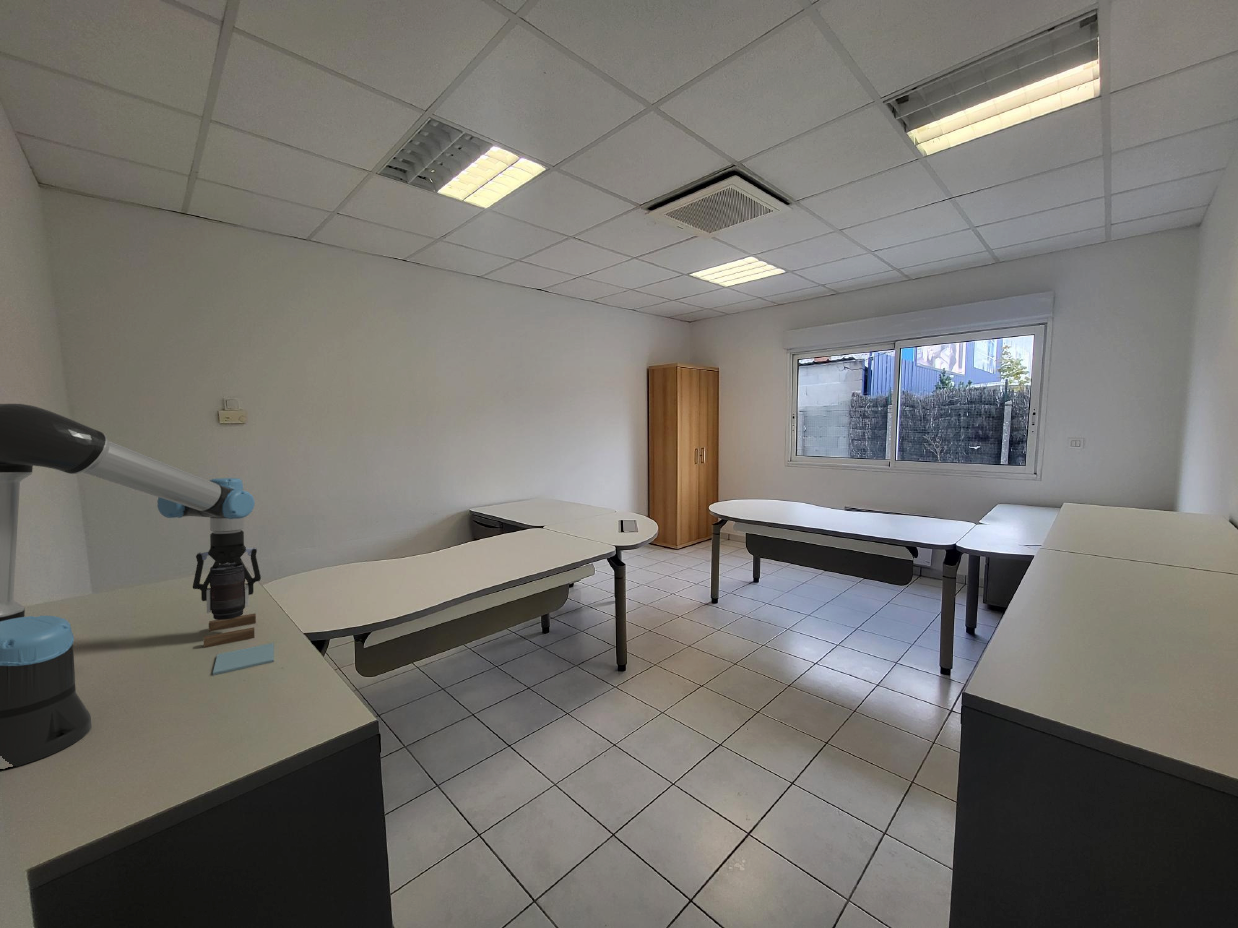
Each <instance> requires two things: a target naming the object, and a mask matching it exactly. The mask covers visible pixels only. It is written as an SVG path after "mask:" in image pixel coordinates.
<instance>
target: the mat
mask: <svg viewBox="0 0 1238 928" xmlns="http://www.w3.org/2000/svg"><path fill="white" fill-rule="evenodd" d="M274 645H275V643H274V642H271V643H267V644H266V643H265V644H261V645H256V646H252V647H247V648H245V647H244V648H242V649H236V650H232V651H226V652H222V653H218V654H216V660H215V663H214V668H213V671H212V676H216V675H221V674H225V673H229V672H235V671H240V670H243V669H248V668H252V667H257V666H261V665H264V664H265V665H266V664H271V663H274V662H275V660H274V659H275V658H274V657H275V656H274V653H275V652H274V649H275V646H274Z"/></svg>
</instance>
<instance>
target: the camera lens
mask: <svg viewBox="0 0 1238 928" xmlns="http://www.w3.org/2000/svg"><path fill="white" fill-rule="evenodd" d="M243 565H245V563H244V562H243ZM243 565H240V566H237V565H236V563H235V562H234V563H225V564H219V566H218V568H217V569H211V568H212V566H211V567H210V569H209V572H210V570H211V572H210V583H209V588H211V612H210V613H211V614H212V615H213V619H214V620H225V619H232V618H236V617H239V616H243V614H244V610H245V608H246V607H245V583H246V579H245V577H244V568H243Z"/></svg>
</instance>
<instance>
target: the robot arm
mask: <svg viewBox="0 0 1238 928" xmlns="http://www.w3.org/2000/svg"><path fill="white" fill-rule="evenodd" d="M33 467H43V468H48V469H53V470H56V471H60V472H63V473H66V474H70V475H76V474H79V473H84V474H86V475H89V476H92V477H96V478H99V479H102V480H106V481H109V482H111V483H115V484H118V485H120V486H124V487H126V488H128V489H133V490H136V491H138V492H141V493H145V494H147V495H151V496H153V497H157V500H156V502H157V507H156V508H157V510H158V512H159V513H160V514H161V515H162V516H163V517H165V518H167V519H174V518H177V519H181V518H184V517H199V518H200V517H201V518H209V531H210V532H211V533H210V534H209V537H210V538H209V539H210V540H209V541H210V542H209V544H210V545H209V546H210V547H209V550H208V551H205V552H198V553H197V554H196V555H195V558H196V561H197V564H196V568H195V572H194V578H193V582H192V583H193V584H192V589H193V590H199V591H200V594H201V597H200V598H201V602H206V613H207V614H209V613H211V587H208V586H210V572H211V570H210V569H209V572H208V574H207V576H206V578H205V580H204V582H203V583H201V580H202V579H201V578H202V573H203V568H204V564H205V561H206V560H207V559H208V558H207V557H208V556H209V557H211V559H212V560H213V561H214V562H213V565H212V566H211V567H212V568H211V567H210V568H211V569H217V568H218V566H219V564H225V563H234V562H235V563H236V565H237V566H240V565H243V563H244V562H243V560H242V556H243V555H244V554H245V553H247V556H250V562H251V565H252V570H253V574H254V577H253V576H252V575H251V573H250V571H249V570H248V568H247V567H246V566H245V564H244V565H243V568H244V577H245V608H248V607H249V605H250V596H251V595H253V594H254V584H255V583H256V582H257V583H258V582H260V581H261V578H262V576H261V571H260V567H259V563H258V558H257V552H258V551H257V550H258V549H257V547H252V548H251V547H246V545H245V533H244V532H245V531H244V530H243V529H244V528H245V524H244V521H245V520H244V519H245V518H246V517H248V516H249V515H250V514H251V513H252V512H253V510H254V507H255V504H256V503H255V498H254V496H253V495H252V494H251V493H250V492H249V491H248V490H244V484H243V480H241V478H237V477H221V478H220V477H219V478H218V477H217V478H211V479H205V478H203V477H201V476H198V475H196V474H193V473H191V472H188V471H186V470H183V469H181V468H178V467H175V466H173V465H172V464H168V463H166V462H163V461H160V460H158V459H156V458H153V457H150V456H148V455H145V454H144V453H140V452H139V451H136V450H133V449H131V448H128V447H126V446H123V445H120V444H118V443H115V442H114V441H110V440H109V439H108V437H107V434H105V433H104V432H102V431H99V430H98V429H94V428H92V427H90V426H88V425H85V424H83V423H80V422H78V421H76V420H72V419H71V418H69V417H66V416H64V415H61V414H58V413H56V412H53V411H51V410H48V409H45V408H42V407H38V406H35V405H31V404H24V403H0V756H2V758H3V759H5V761H7V762H9V764H12V765H13V766H16V767H19V766H24V765H26V764H29V763H32V762H36V761H39V760H42V759H44V758H46V757H49V756H51V755H54V754H55V753H58V752H60V751H62V750H64V749H66V748H68V747H70V746H72V745H73V744H76V742H78V741H80V740H81V739H83V738H84V737H85V736H86V735H87V734H88V733H89V732H90V731H91V730H92V726H93V725H92V717H91V713H90V712H89V710H88V709H87V707H86V705H85V704H84V703H83V701H82V700H81V697H79V695H78V694H77V691H76V689H77V688H76V673H75V655H74V653H75V652H74V642H75V641H74V640H75V637H74V633H73V631H72V626H71V623H70V622H69V621H68V620H67V619H65V618H62V617H59V616H54V615H38V616H34V615H29V616H28V615H27V616H25V614H26V607H25V606H24V605H22V604H21V603H19V602H16V601H15V600H14V593H15V592H14V591H15V576H16V575H15V573H16V560H17V559H16V558H17V556H16V555H17V541H18V522H19V503H20V501H19V500H20V491H21V490H20V489H21V482H22V481H23V480H25V479H26V478H28V477H29V476H31V475H33V469H34V468H33ZM16 767H15V768H16Z"/></svg>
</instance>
